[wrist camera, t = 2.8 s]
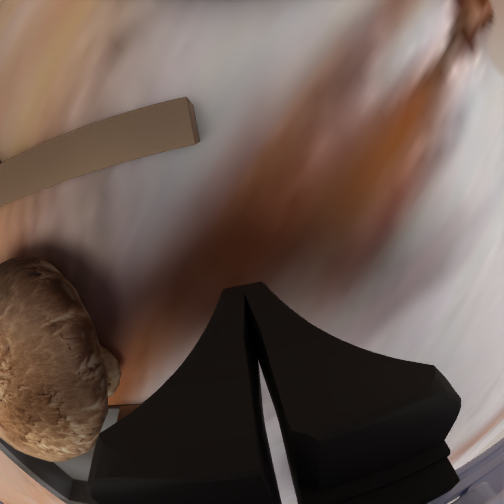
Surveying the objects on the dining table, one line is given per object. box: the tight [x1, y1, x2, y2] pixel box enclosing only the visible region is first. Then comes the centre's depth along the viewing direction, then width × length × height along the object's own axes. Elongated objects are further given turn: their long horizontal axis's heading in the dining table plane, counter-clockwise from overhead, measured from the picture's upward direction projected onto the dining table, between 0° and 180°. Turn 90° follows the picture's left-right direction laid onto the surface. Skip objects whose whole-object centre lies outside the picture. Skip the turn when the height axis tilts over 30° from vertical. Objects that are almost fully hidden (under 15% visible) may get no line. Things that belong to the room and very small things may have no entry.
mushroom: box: [0, 257, 121, 462], centre depth 9 cm, size 8×8×6 cm
